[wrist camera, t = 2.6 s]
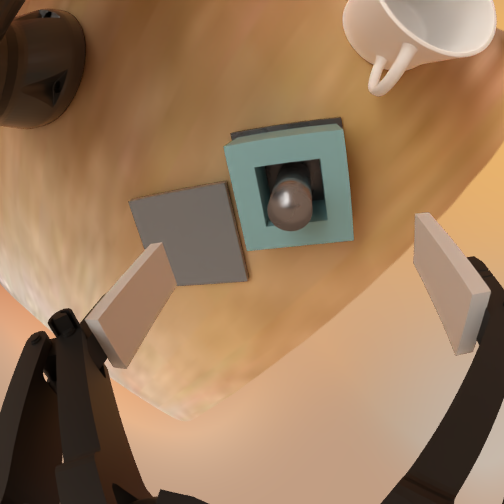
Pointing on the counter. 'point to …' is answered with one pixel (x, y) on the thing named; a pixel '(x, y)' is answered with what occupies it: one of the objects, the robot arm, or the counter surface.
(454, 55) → the mug
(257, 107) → the counter surface
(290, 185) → the stand
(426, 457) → the robot arm
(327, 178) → the teal square frame
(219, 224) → the coaster
